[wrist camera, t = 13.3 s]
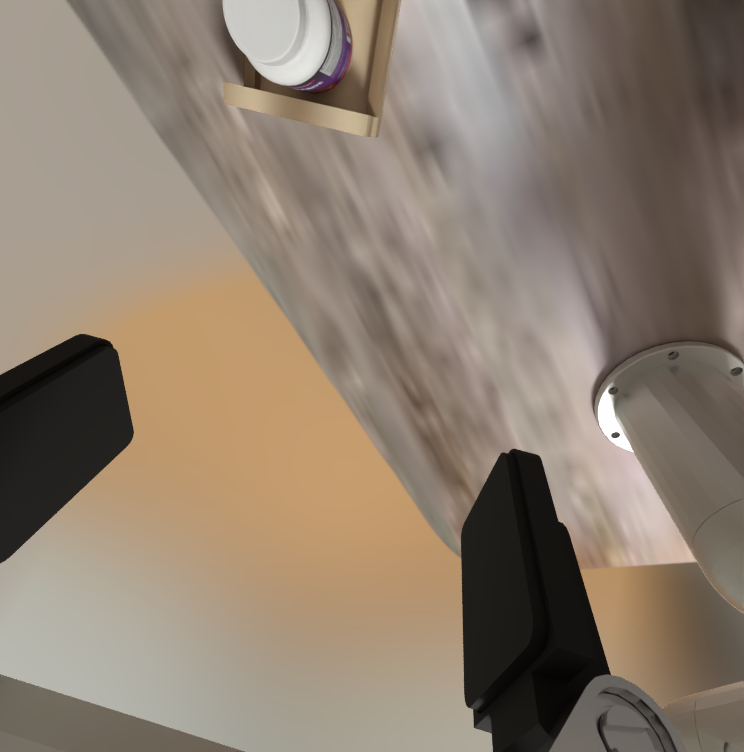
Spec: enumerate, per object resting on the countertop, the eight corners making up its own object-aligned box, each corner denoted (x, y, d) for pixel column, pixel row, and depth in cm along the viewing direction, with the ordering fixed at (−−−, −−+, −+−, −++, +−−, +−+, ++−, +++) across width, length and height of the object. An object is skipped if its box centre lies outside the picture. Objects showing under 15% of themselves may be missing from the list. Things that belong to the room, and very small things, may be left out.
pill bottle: (275, 81, 28) (204, 58, 20) (287, -17, 25) (210, -89, 17) (344, 106, 28) (301, 94, 20) (364, 11, 26) (324, -48, 17)
